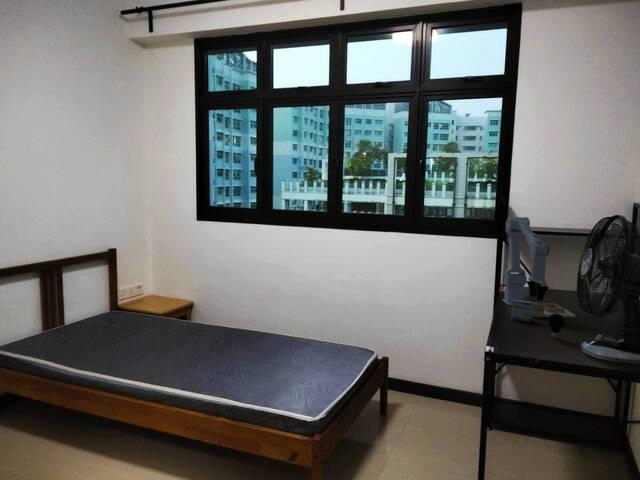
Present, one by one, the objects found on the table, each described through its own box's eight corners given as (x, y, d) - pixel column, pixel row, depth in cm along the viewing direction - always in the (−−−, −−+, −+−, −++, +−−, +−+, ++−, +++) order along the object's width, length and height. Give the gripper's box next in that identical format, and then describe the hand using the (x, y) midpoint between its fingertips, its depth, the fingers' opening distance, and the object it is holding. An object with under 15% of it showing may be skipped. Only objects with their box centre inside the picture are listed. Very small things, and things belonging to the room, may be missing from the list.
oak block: (526, 314, 220) (527, 302, 219) (539, 314, 220) (540, 302, 219) (530, 317, 216) (531, 304, 215) (543, 317, 216) (544, 304, 215)
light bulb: (548, 334, 191) (550, 310, 189) (564, 338, 187) (566, 313, 186) (545, 338, 186) (546, 313, 185) (561, 341, 182) (563, 316, 181)
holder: (529, 306, 235) (529, 300, 234) (557, 307, 234) (558, 301, 234) (544, 316, 217) (545, 310, 216) (575, 317, 216) (576, 311, 216)
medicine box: (511, 319, 211) (512, 300, 210) (512, 317, 215) (513, 298, 214) (530, 322, 208) (531, 303, 207) (530, 319, 212) (532, 301, 210)
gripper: (523, 266, 223) (521, 294, 224) (535, 272, 208) (533, 302, 210) (538, 266, 222) (536, 294, 224) (552, 272, 208) (549, 302, 210)
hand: (536, 298), depth 217 cm, fingers open, 7 cm apart
